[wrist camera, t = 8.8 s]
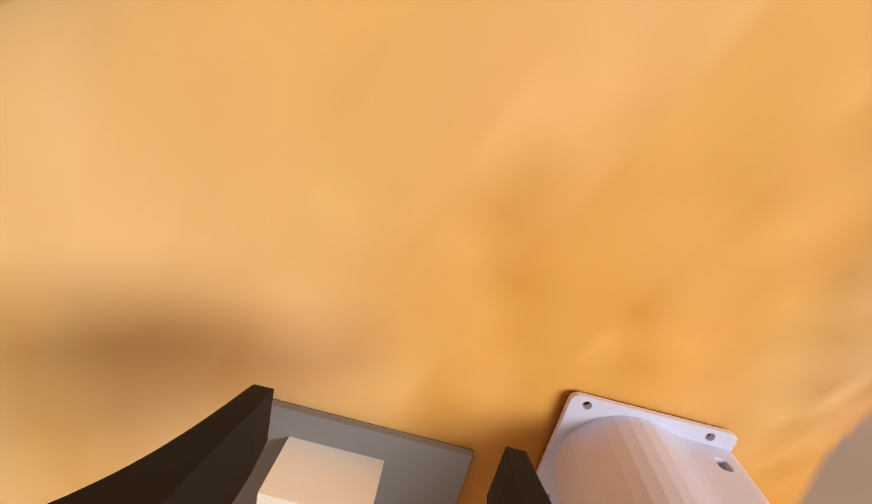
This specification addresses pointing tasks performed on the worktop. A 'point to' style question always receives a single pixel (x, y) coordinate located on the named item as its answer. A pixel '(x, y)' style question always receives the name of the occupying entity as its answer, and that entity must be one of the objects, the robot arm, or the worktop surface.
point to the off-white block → (320, 476)
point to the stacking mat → (402, 453)
